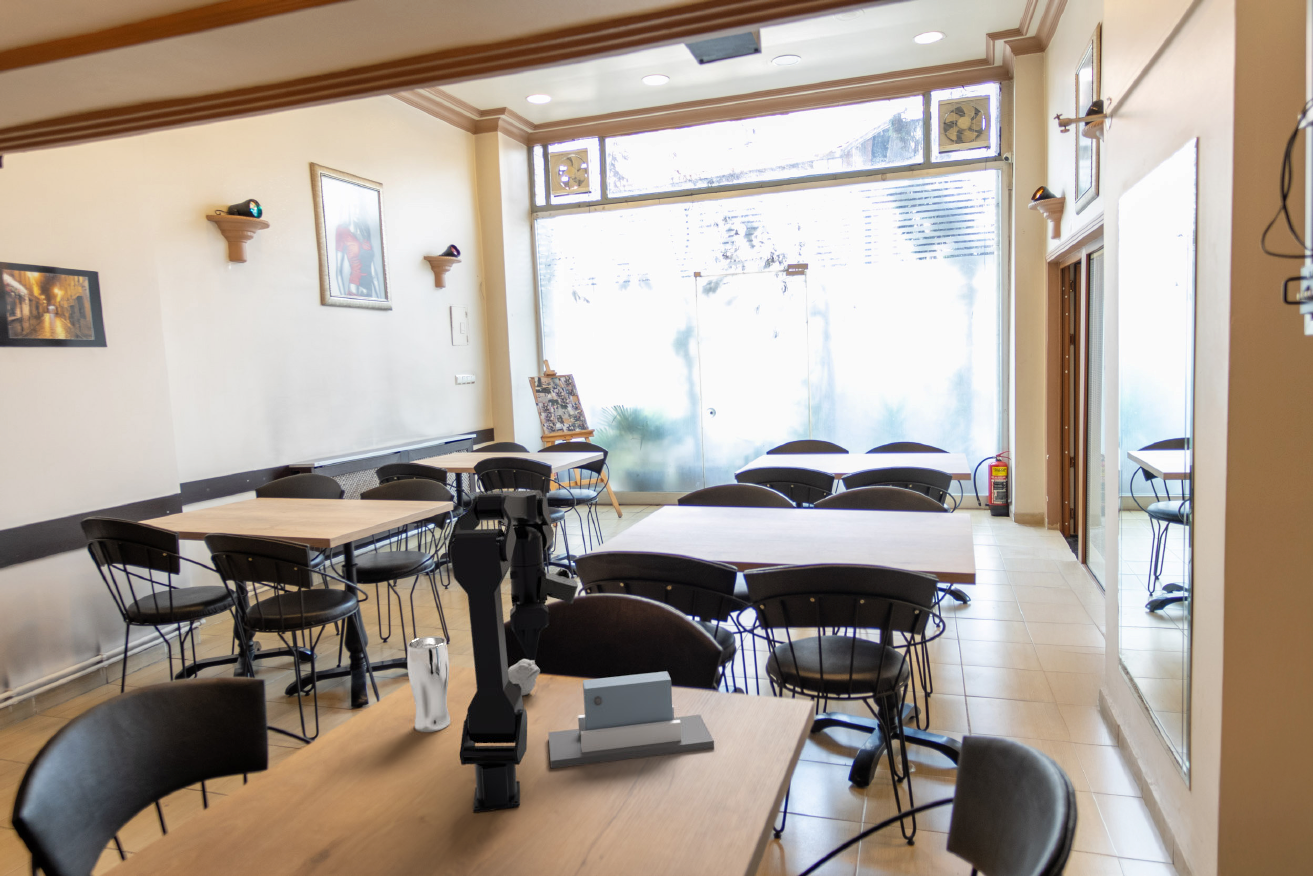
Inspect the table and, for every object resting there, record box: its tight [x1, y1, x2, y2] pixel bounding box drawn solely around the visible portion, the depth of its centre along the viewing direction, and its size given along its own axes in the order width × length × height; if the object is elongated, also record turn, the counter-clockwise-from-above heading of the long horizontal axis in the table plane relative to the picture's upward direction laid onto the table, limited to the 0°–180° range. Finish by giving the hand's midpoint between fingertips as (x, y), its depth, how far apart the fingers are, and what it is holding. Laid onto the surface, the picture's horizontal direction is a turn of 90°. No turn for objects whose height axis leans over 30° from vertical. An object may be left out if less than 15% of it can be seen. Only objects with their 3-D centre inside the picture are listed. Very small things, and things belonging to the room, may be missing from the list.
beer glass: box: [407, 635, 451, 733], centre depth 141 cm, size 7×7×15 cm
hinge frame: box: [548, 704, 715, 769], centre depth 131 cm, size 10×26×4 cm, turn 100°
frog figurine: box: [508, 658, 541, 697], centre depth 153 cm, size 6×7×7 cm
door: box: [582, 670, 673, 731], centre depth 130 cm, size 4×14×10 cm, turn 100°
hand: (531, 650), depth 140 cm, fingers open, 9 cm apart
